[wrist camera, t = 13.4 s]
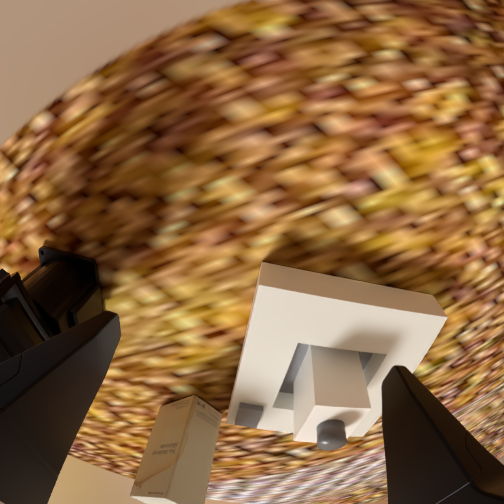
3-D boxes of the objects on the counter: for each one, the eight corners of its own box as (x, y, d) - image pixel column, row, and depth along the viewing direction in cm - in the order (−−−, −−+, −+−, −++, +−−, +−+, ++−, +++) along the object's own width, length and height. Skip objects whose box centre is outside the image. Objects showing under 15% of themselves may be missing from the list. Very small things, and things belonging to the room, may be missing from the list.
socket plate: (230, 399, 28) (225, 428, 25) (261, 261, 21) (257, 290, 18) (359, 414, 28) (363, 441, 25) (432, 295, 21) (450, 322, 18)
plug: (293, 383, 24) (293, 457, 18) (310, 342, 22) (316, 424, 16) (336, 387, 24) (344, 459, 18) (357, 349, 22) (375, 426, 16)
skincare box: (195, 392, 28) (165, 497, 17) (224, 414, 29) (205, 513, 18) (158, 406, 30) (126, 495, 19) (186, 426, 31) (162, 512, 20)
